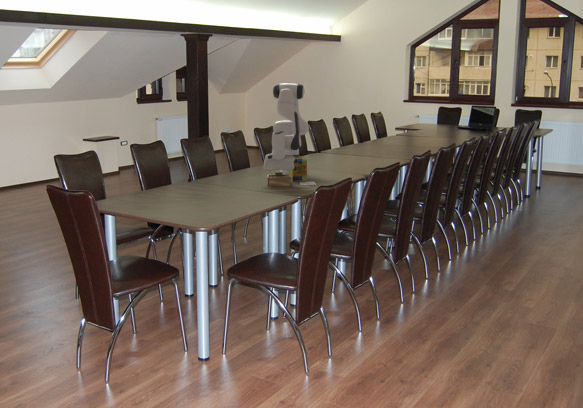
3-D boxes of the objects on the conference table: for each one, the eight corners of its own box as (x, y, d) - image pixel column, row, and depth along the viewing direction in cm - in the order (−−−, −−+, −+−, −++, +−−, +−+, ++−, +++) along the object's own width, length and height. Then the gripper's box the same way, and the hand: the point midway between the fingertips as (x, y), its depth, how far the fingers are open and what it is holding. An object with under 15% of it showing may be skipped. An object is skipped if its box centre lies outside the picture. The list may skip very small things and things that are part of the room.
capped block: (275, 183, 431) (275, 171, 430) (282, 183, 432) (281, 171, 430) (275, 185, 425) (275, 173, 423) (282, 184, 425) (282, 172, 424)
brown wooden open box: (267, 183, 434) (267, 174, 432) (289, 183, 435) (289, 173, 433) (267, 186, 422) (267, 177, 421) (291, 186, 423) (291, 176, 422)
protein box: (292, 182, 440) (292, 159, 437) (288, 178, 454) (287, 156, 451) (307, 181, 442) (307, 158, 438) (302, 178, 456) (302, 156, 453)
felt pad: (299, 183, 435) (299, 181, 435) (314, 182, 436) (314, 181, 436) (300, 186, 424) (300, 184, 423) (316, 185, 424) (316, 184, 424)
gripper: (294, 154, 428) (294, 175, 431) (263, 155, 427) (263, 176, 429) (294, 155, 422) (295, 176, 425) (263, 156, 420) (263, 177, 423)
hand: (279, 176), depth 427 cm, fingers open, 8 cm apart
